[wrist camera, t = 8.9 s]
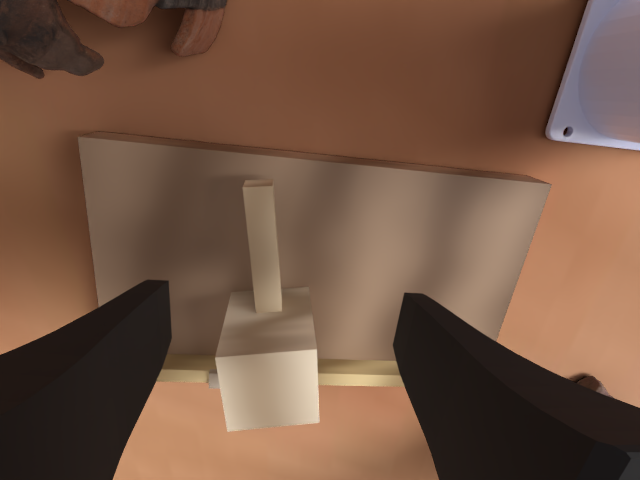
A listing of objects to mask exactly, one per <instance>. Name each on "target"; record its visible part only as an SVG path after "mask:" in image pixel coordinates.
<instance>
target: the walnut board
mask: <svg viewBox="0 0 640 480" xmlns="http://www.w3.org/2000/svg"><path fill="white" fill-rule="evenodd" d="M78 144H79V152H80V160H81V169H82V177H83V185H84V193H85V201H86V209H87V217H88V225H89V233H90V241H91V249H92V257H93V265H94V273H95V281H96V290H97V298H98V306H99V307H100V306H102V305H104V304H105V303H107V302H109V301H110V300H112V299H114V298H116V297H117V296H119V295H121V294H122V293H124V292H126V291H127V290H129V289H131V288H132V287H134V286H136V285H138V284H139V283H141V282H143V281H145V280H147V279H148V280H168V281H169V292H170V311H171V329H172V339H171V343H170V346H169V349H168V352H167V356H166V358H165V361H164V364H163V367H162V370H161V372H160V374H159V376H158V378H157V380H156V381H158V382H204V383H209V388H218V389H220V384H219V378H218V372H217V366H216V360H215V356H216V352H217V348H218V344H219V340H220V336H221V332H222V328H223V324H224V320H225V316H226V312H227V308H228V304H229V300H230V296H231V292H242V291H254V289H253V280H252V270H251V261H250V252H249V242H248V233H247V224H246V214H245V205H244V196H243V185H244V183H245V180H266V179H273V184H274V197H275V211H276V224H277V238H278V251H279V265H280V278H281V289H286V288H301V287H309V292H310V300H311V308H312V315H313V323H314V331H315V338H316V346H317V366H318V385H344V386H390V387H405V386H404V383H403V381H402V378H401V376H400V373H399V369H398V365H397V362H396V358H395V353H394V349H393V341H394V337H395V332H396V328H397V323H398V319H399V314H400V309H401V305H402V300H403V296H404V293H423V294H425V295H427V296H428V297H430V298H432V299H433V300H435V301H436V302H438V303H439V304H441V305H442V306H443V307H445V308H446V309H448V310H449V311H451V312H452V313H454V314H455V315H456V316H458V317H459V318H461V319H462V320H464V321H465V322H467V323H468V324H469V325H471V326H472V327H474V328H475V329H477V330H478V331H480V332H482V333H483V334H485V335H486V336H488V337H489V338H491V339H493V340H494V341H496V340H497V337H498V334H499V332H500V329H501V326H502V323H503V320H504V317H505V315H506V312H507V309H508V306H509V303H510V301H511V298H512V295H513V292H514V289H515V287H516V284H517V281H518V278H519V275H520V272H521V270H522V267H523V264H524V261H525V258H526V256H527V253H528V250H529V247H530V244H531V242H532V239H533V236H534V233H535V230H536V227H537V225H538V222H539V219H540V216H541V213H542V211H543V208H544V205H545V202H546V199H547V196H548V194H549V191H550V188H551V185H552V184H549V183H546V182H544V181H541V180H538V179H535V178H533V177H530V176H527V175H517V174H507V173H498V172H488V171H478V170H468V169H459V168H449V167H439V166H430V165H420V164H410V163H401V162H391V161H381V160H371V159H362V158H352V157H342V156H333V155H323V154H313V153H304V152H294V151H284V150H274V149H265V148H255V147H245V146H236V145H226V144H216V143H207V142H197V141H187V140H177V139H168V138H158V137H148V136H139V135H129V134H119V133H110V132H100V131H99V132H95V133H91V134H87V135H82V136H78Z"/></svg>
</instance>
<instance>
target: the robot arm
mask: <svg viewBox="0 0 640 480" xmlns="http://www.w3.org/2000/svg"><path fill="white" fill-rule="evenodd" d="M566 127H567V128H568V131H567V133H566V134H565V135H563V131H564V129H565V128H566ZM545 134H546V137H547V138H548V139H550V140H555V141H563V142H571V143H580V144H588V145H597V146H605V147H614V148H622V149H631V150H639V151H640V0H588V3H587V6H586V9H585V12H584V15H583V18H582V21H581V24H580V27H579V30H578V33H577V36H576V39H575V42H574V45H573V49H572V52H571V55H570V58H569V61H568V64H567V67H566V70H565V73H564V76H563V79H562V82H561V85H560V88H559V91H558V94H557V97H556V100H555V103H554V106H553V109H552V112H551V115H550V118H549V121H548V124H547V127H546V132H545ZM171 339H172V329H171V311H170V292H169V281H168V280H148V279H147V280H145V281H143V282H141V283H139V284H138V285H136V286H134V287H132V288H131V289H129V290H127V291H126V292H124V293H122V294H121V295H119V296H117V297H116V298H114V299H112V300H110V301H109V302H107V303H105V304H104V305H102V306H100V307H98V308H97V309H95V310H93V311H92V312H90V313H88V314H86V315H84V316H82V317H80V318H78V319H77V320H75V321H73V322H71V323H69V324H67V325H65V326H63V327H62V328H60V329H58V330H56V331H54V332H52V333H50V334H47V335H45V336H43V337H41V338H39V339H37V340H34V341H32V342H30V343H28V344H25V345H23V346H21V347H18V348H16V349H14V350H11V351H9V352H7V353H4V354H1V355H0V480H113V477H114V474H115V471H116V469H117V466H118V463H119V460H120V458H121V455H122V453H123V450H124V448H125V446H126V443H127V441H128V439H129V437H130V435H131V432H132V430H133V428H134V426H135V424H136V422H137V420H138V418H139V416H140V414H141V412H142V410H143V408H144V406H145V403H146V401H147V399H148V397H149V395H150V393H151V391H152V389H153V387H154V385H155V383H156V380H157V378H158V376H159V374H160V372H161V370H162V367H163V364H164V361H165V358H166V356H167V352H168V349H169V346H170V343H171ZM393 349H394V353H395V358H396V362H397V365H398V369H399V373H400V376H401V378H402V381H403V383H404V386H405V388H406V391H407V393H408V396H409V398H410V401H411V403H412V406H413V408H414V411H415V413H416V415H417V418H418V420H419V423H420V425H421V428H422V430H423V433H424V435H425V437H426V440H427V443H428V446H429V448H430V451H431V454H432V457H433V460H434V464H435V467H436V471H437V474H438V477H439V480H640V408H638V407H636V406H633V405H630V404H628V403H625V402H622V401H620V400H617V399H614V398H611V397H609V396H606V395H604V394H601V393H599V392H596V391H594V390H591V389H589V388H586V387H584V386H582V385H579V384H577V383H575V382H573V381H570V380H568V379H566V378H564V377H561V376H559V375H557V374H555V373H553V372H551V371H549V370H547V369H545V368H542V367H540V366H539V365H537V364H535V363H533V362H531V361H529V360H527V359H525V358H523V357H522V356H520V355H518V354H516V353H514V352H513V351H511V350H509V349H507V348H506V347H504V346H502V345H501V344H499V343H497V342H496V341H494V340H493V339H491V338H489V337H488V336H486V335H485V334H483V333H482V332H480V331H478V330H477V329H475V328H474V327H472V326H471V325H469V324H468V323H467V322H465V321H464V320H462V319H461V318H459V317H458V316H456V315H455V314H454V313H452V312H451V311H449V310H448V309H446V308H445V307H443V306H442V305H441V304H439V303H438V302H436V301H435V300H433V299H432V298H430V297H428V296H427V295H425V294H423V293H404V296H403V300H402V305H401V309H400V314H399V319H398V323H397V328H396V332H395V337H394V341H393Z"/></svg>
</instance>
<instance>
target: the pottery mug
mask: <svg viewBox="0 0 640 480" xmlns="http://www.w3.org/2000/svg"><path fill="white" fill-rule="evenodd" d="M68 1H70V2H71V3H73V4H76V5H78V6H81V7H83V8H84V9H86V10H87V11H89V12H91V13H93V14H94V15H96V16H98V17H100V18H102V19H104V20H105V21H107V22H108V23H110V24H112V25H114V26H116V27H119V28H122V27H124V26H135V25H138V24H141V23H143V22H144V21H145V20H146V18H147V16H148V15H149V13H150V12H151V10H152V8H153V6H157V7H159V8H160V9H172V8H186V9H185V12H184V16H183V20H182V22H181V25H180V28H179V30H178V32H177V34H176V36H175V38H174V40H173V42H172V44H171V49H172V51H173V52H174V53H175V54H176V55H178V56H189V55H192V54H197V53H204V52H206V51H207V50H208V49H209V47H210V45H211V44H212V43H213V41H214V40H215V37H216V35H217V33H218V31H219V29H220V25H221V22H222V18H223V15H224V8H225V6H226V2H227V0H68ZM0 59H1V60H3V61H5V62H7V63H8V64H10V65H11V66H13V67H15V68H17V69H19V70H21V71H23V72H26V73H28V74H30V75H32V76H34V77H36V78H38V79H41V78H43V77H44V72H43V70H42V69H41V68H43V69H46V70H65V71H67V72H69V73H72V74H74V75H78V76H84V75H87V74H89V73H92V72H93V71H95V70H98V69H100V68H101V67H102V66H103V64H104V59H103V57H102V56H101V55H100V54H99V53H97V52H96V51H94V50H92V49H90V48H88V47H86V46H84V45H82V44H81V42H80V39H79V37H78V36H77V35H76V34H75V33H74V31H73V30H72V29H71V27H70V25H69V24H68V22H67V21H66V19H65V18H64V16H63V14H62V12H61V9H60V6H59V5H58V3H57V1H56V0H0ZM39 67H40V68H39Z"/></svg>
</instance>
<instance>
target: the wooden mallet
mask: <svg viewBox="0 0 640 480" xmlns="http://www.w3.org/2000/svg"><path fill="white" fill-rule="evenodd" d="M243 196H244V205H245V214H246V224H247V233H248V242H249V252H250V261H251V270H252V280H253V289H254V291H242V292H231V296H230V300H229V304H228V308H227V312H226V316H225V320H224V324H223V328H222V332H221V336H220V340H219V344H218V348H217V352H216V356H215V360H216V366H217V372H218V378H219V384H220V390H221V396H222V402H223V408H224V414H225V420H226V426H227V432H228V431H239V430H249V429H259V428H270V427H280V426H291V425H301V424H311V423H319V395H318V366H317V346H316V338H315V331H314V323H313V315H312V308H311V300H310V292H309V287H301V288H286V289H281V278H280V265H279V251H278V238H277V224H276V211H275V197H274V184H273V179H266V180H245V183H244V185H243Z"/></svg>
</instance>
